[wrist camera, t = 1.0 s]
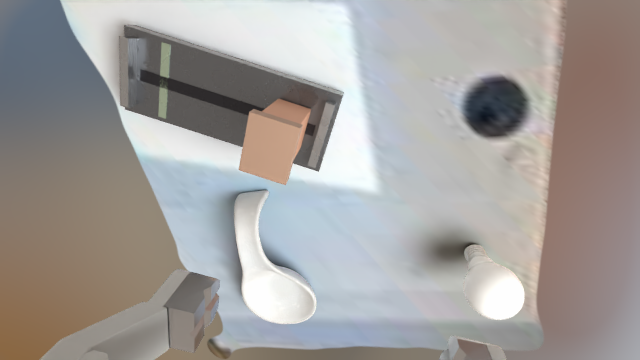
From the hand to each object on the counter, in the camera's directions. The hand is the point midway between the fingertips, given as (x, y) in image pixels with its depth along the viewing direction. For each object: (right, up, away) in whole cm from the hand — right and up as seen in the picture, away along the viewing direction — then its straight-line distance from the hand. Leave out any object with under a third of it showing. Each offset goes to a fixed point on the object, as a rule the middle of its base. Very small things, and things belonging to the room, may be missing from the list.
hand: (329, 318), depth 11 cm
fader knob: (-4, +12, +27) cm, 29 cm away
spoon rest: (-8, -7, +39) cm, 41 cm away
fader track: (-11, +15, +29) cm, 34 cm away
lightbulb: (+21, -5, +33) cm, 40 cm away
